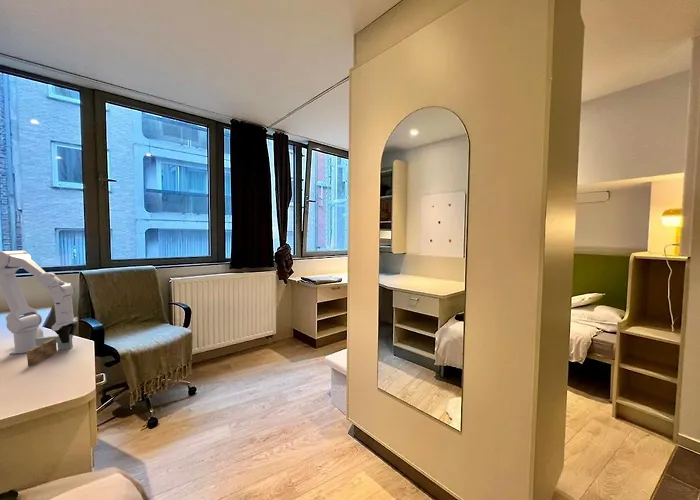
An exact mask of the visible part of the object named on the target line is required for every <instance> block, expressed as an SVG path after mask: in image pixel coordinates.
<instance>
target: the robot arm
mask: <svg viewBox="0 0 700 500" xmlns="http://www.w3.org/2000/svg"><path fill="white" fill-rule="evenodd" d="M19 269H24V270H25V272H28V273H29V274H31V275H32V276H34V277H35V278H37V281H36V282H37V283H38V284H39V285H40V286H42V287H43V288H45V289H46V290H47V291H48V292H49V296H50V297H51V299H52V302H53V303H54V314H55V323H54V324H53V325H51V331H52V332H53V331H54V332H55V334H56V335H57V336H59V338H60V340H61V342H62V343H68V342H69V334H72V338H73V336H74V333H75V330H76V327H77V326H78V323H77V322H78V321H79V319H78V316H75V315H74V308H73V307H74V305H73V295H74V294H75V292H76V289H75V286H74V285H73V284H72V283H69V282H66V281H63V280H61V279H60V278H59V277H58V276H57V275H56V274H55V273H54V272H46V271H45V270H44V269H43V268H42V267H40V266H39V265H38V263H36V262H35V260H33V259H32V255H31V254H29V253H28V252H27V251H26V250H22V249H20V250H19V249H18V250H9V251H8V250H7V251H5V250H4V251H2V250H0V289H1V292H2V294H3V296H4V300H5V301H6V303H7V305H8V308H9V310H10V312H9V313H8V314H7V315H6V317H5V321H6V328H7V330H8V331H9V332H11V334H13V341H14V342H13V343H14V350H13V351H11V352H9V354H8V355H16V354H23V353H26V354H27V351H28V350H30V349H32V348H34V347H36V340H35V339H36V338H38V337H44V332H43V330H42V328H41V327H39V326H40V325H41V324H42V323H43V322H42V320H43V317H42V315H41V314H40V313H38V311H37V309H36V308H33V307H32V306H29V304H28V301H27V300H26V297H25V295H24V293H23V289H22V287H21V285H20V283H19V281H18V278H17V276H16V273H17V271H18V270H19Z"/></svg>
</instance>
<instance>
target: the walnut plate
mask: <svg viewBox="0 0 700 500" xmlns="http://www.w3.org/2000/svg"><path fill="white" fill-rule="evenodd" d="M42 348H43V351H42ZM56 353H58V346H57V343H56V339H50V340H48V341H46V342H44V343H42V346H36V347H34V348H32V349H30V350H28V351H27V352H26V358H27V359H26V360H27V366H28V367H34V366H36V365H38V364H39V363H41V362H43V361H44V360H46V359H48V358H49V357H51V356H53V355H54V354H56Z"/></svg>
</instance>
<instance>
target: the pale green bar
mask: <svg viewBox="0 0 700 500" xmlns="http://www.w3.org/2000/svg"><path fill="white" fill-rule="evenodd" d="M50 339H56V345H57V351H61V350H60V349H62V350H70V349H69V348H71V349H72V348H73V347H74V345H73V337H72V334H69V342H68V343H62V342H61V340H60V338H59V336H58V335H50V336H43V337H38V338H36V339H35V340H36V346H42V343H44V342H46V341H48V340H50ZM42 351H43V348H42Z"/></svg>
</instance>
